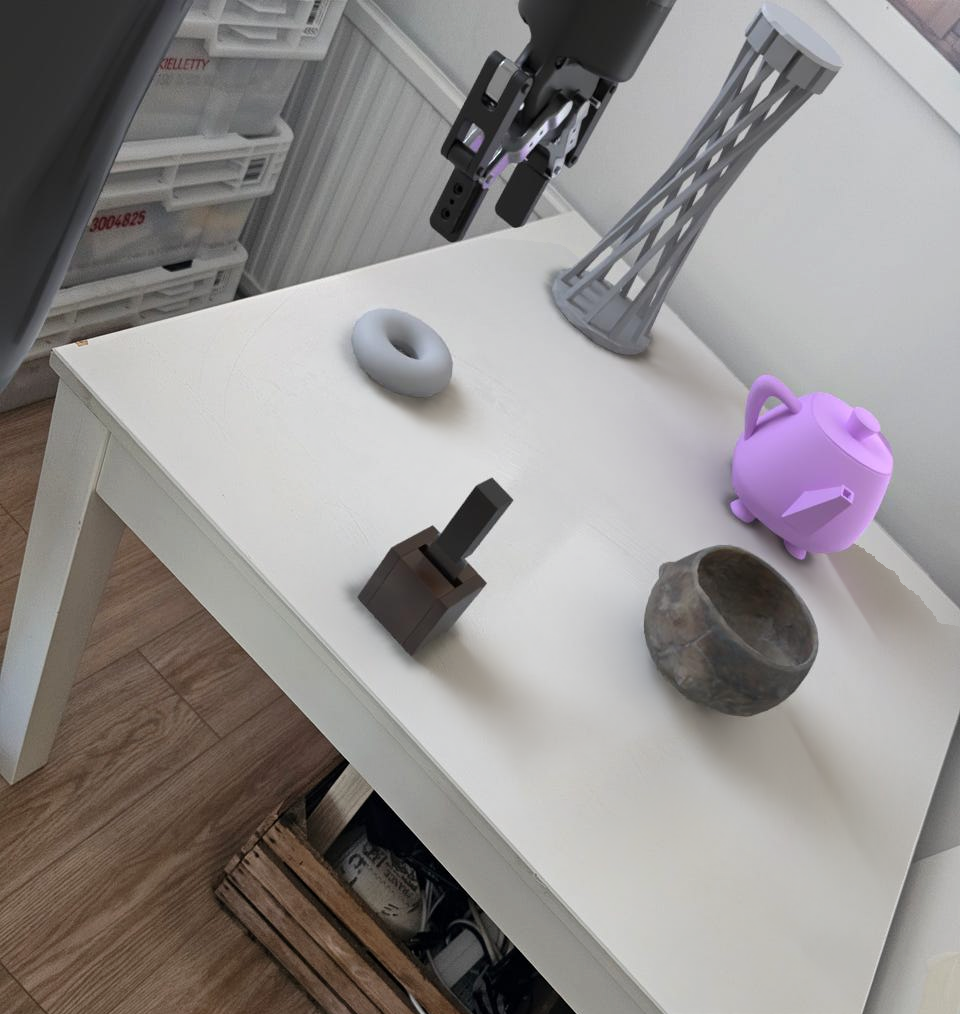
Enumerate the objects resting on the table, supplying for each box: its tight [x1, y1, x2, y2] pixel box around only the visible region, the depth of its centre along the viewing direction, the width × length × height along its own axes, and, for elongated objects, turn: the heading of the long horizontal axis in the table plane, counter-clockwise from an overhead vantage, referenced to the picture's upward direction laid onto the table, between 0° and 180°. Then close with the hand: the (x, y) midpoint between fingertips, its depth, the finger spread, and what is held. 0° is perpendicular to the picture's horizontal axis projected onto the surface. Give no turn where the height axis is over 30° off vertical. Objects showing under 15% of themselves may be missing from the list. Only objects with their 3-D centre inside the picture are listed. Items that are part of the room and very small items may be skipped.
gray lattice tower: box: [551, 0, 844, 356], centre depth 112 cm, size 14×13×35 cm
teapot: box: [730, 374, 894, 560], centre depth 109 cm, size 20×20×15 cm
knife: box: [423, 477, 514, 585], centre depth 74 cm, size 3×2×14 cm, turn 51°
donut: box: [350, 307, 454, 398], centre depth 95 cm, size 10×4×10 cm
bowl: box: [643, 544, 819, 718], centre depth 89 cm, size 14×15×10 cm
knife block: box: [357, 524, 488, 656], centre depth 77 cm, size 6×5×6 cm
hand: (476, 227), depth 65 cm, fingers open, 8 cm apart
